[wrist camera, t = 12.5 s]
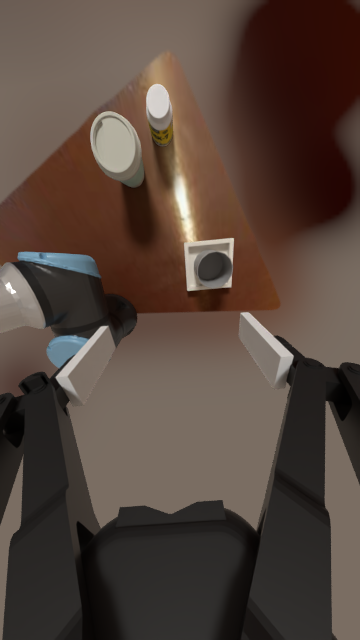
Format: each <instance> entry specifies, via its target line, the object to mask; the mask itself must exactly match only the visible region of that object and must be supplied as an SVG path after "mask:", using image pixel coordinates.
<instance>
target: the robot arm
mask: <svg viewBox="0 0 360 640" xmlns="http://www.w3.org/2000/svg"><path fill="white" fill-rule="evenodd" d="M18 260H19V261H20V262H11V263H5V264H4V265H3V267H2V268H1V270H0V333H2V332H5V331H8V330H12V329H15V328H18V327H21V326H24V325H25V326H26V325H27V326H32V327H36V328H39V329H43V328H46V327H49V326H50V327H51V329H52V331H53V333H54V336H55V338H54V339H52V340H51V341H50V343H49V346H48V347H47V355H48V357H49V359H50V361H51V362H52V363H53V364H54V365H55V366H57V367H58V368H60V369H58V370H57V371H56V372H55V373H54V375H53V376H52V377H51V378H50V379H49V378H48V377H47V375H46V373H45V372H37V373H34V374H32V375H30V376H28V377H26V378H25V379H23V380H22V381H21V382H20V383H19V387H20V389H21V390H22V392H23V393H24V394H25V395H22V396H19V397H14V396H13V395H12V394H11V393H5V394H2V395H0V524H1V521H2V518H3V515H4V512H5V509H6V506H7V503H8V500H9V497H10V493H11V490H12V487H13V484H14V481H15V478H16V475H17V472H18V469H19V466H20V463H21V460H22V457H23V454H24V457H23V487H22V516H21V526H20V529H19V530H18V531H17V532H16V533H14V534H13V536H12V539H11V541H10V547H9V557H8V572H7V584H6V599H5V612H4V627H3V640H337V638H336V637H335V636H334V635H333V633H332V612H331V611H332V608H331V526H330V517H329V513H328V511H327V509H326V508H325V501H324V495H325V489H324V488H325V487H324V486H325V485H324V484H325V401H328V402H329V405H330V408H331V410H332V413H333V415H334V418H335V421H336V423H337V426H338V429H339V431H340V434H341V437H342V439H343V442H344V444H345V447H346V450H347V452H348V455H349V457H350V460H351V463H352V466H353V468H354V471H355V473H356V476H357V479H358V481H359V484H360V365H358V364H355V363H348V362H345V363H342V364H341V365H340V367H339V368H331V367H325V366H324V365H323V364H322V363H320V362H319V361H317V360H314V359H311V358H305V357H304V356H303V355H302V354H301V353H299V352H298V351H297V350H296V349H295V348H294V347H292V345H291V344H289V343H288V342H287V341H286V340H285V339H284V338H282V337H279V336H273V335H272V334H270V333H269V332H268V331H267V330H266V329H265V328H264V327H263V326H262V325H261V324H260V323H259V322H258V321H257V320H256V319H255V318H254V317H253V316H252V315H251V314H250V313H249V312H247V313H241V314H240V326H239V338H240V340H241V341H242V343H243V344H244V346H245V347H246V349H247V350H248V352H249V353H250V354H251V356H252V358H253V359H254V361H255V362H256V364H257V365H258V367H259V368H260V370H261V371H262V373H263V374H264V376H265V377H266V379H267V380H268V382H269V383H270V385H271V386H272V388H273V389H280V388H285V386H286V382H287V383H289V385H290V386H291V387H290V390H289V394H288V397H287V398H288V399H287V404H286V408H285V412H284V416H283V421H282V425H281V430H280V434H279V438H278V443H277V447H276V451H275V456H274V460H273V465H272V468H271V473H270V477H269V481H268V486H267V490H266V494H265V499H264V503H263V507H262V510H261V514H260V518H259V522H258V526H257V531H256V530H255V529H254V528H253V527H252V526H251V525H250V524H249V523H248V522H247V521H246V520H244V519H243V518H242V517H241V516H239V515H238V514H236V513H235V512H233V511H231V510H228V509H226V508H224V506H223V501H222V500H217V501H203V502H196V503H194V504H192V505H190V506H188V507H185V508H183V509H181V510H179V511H177V512H175V513H173V514H167V513H164V512H161V511H159V510H155V509H153V508H150V507H147V506H133V507H120V509H119V514H118V517H116V518H115V519H113V520H112V521H110V522H109V523H107V524H106V525H105V526H104V527H103V528H100V526H99V523H98V521H97V519H96V517H95V514H94V511H93V507H92V503H91V499H90V496H89V492H88V487H87V483H86V479H85V476H84V471H83V468H82V463H81V459H80V455H79V451H78V447H77V443H76V439H75V435H74V431H73V427H72V423H71V419H70V415H69V411H68V408H67V407H66V405H67V403H68V402H69V401H70V402H71V404H72V406H82V405H84V404H85V402H86V400H87V399H88V397H89V395H90V393H91V392H92V390H93V388H94V386H95V384H96V383H97V381H98V379H99V377H100V375H101V374H102V372H103V370H104V369H105V367H106V365H107V363H108V362H109V361H110V359H111V356H112V354H113V353H114V351H115V349H116V347H117V346H118V344H119V342H120V341H121V339H122V338H124V337H125V336H127V335H129V334H130V333H131V332H132V331H133V329H134V327H135V326H136V323H137V313H136V310H135V308H134V307H133V305H132V304H131V303H130V302H129V301H128V300H127V299H125V298H123V297H121V296H119V295H114V294H106V295H105V294H104V290H103V286H102V282H101V276H100V275H99V272H98V269H97V265H96V262H95V261H94V259H93V258H91V257H90V256H87V255H79V254H62V253H38V252H19V253H18Z"/></svg>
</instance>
